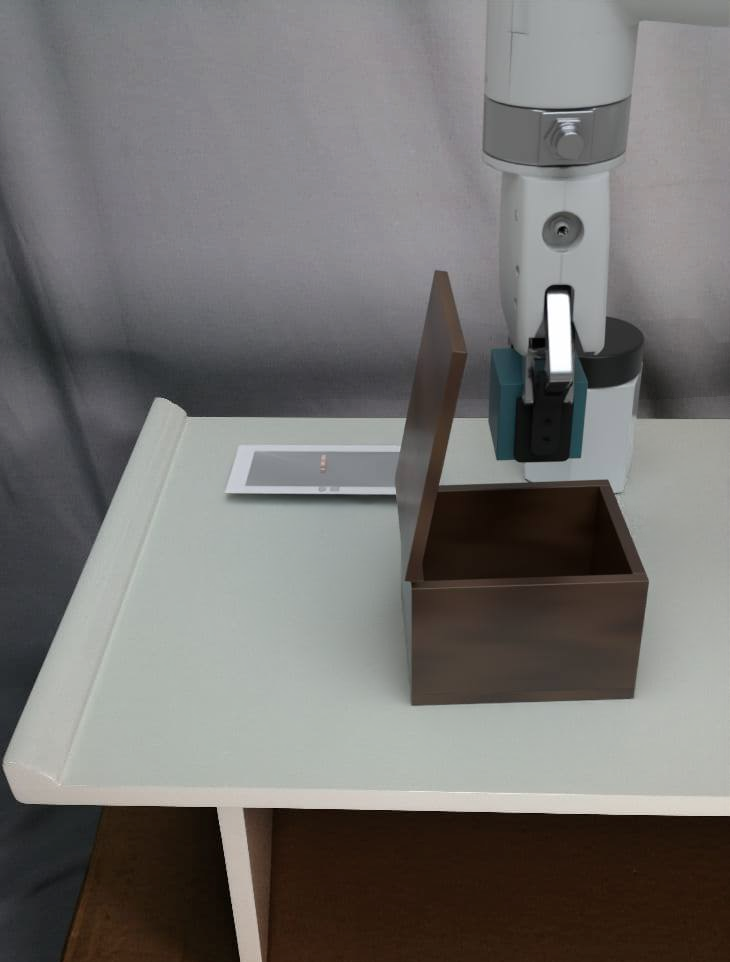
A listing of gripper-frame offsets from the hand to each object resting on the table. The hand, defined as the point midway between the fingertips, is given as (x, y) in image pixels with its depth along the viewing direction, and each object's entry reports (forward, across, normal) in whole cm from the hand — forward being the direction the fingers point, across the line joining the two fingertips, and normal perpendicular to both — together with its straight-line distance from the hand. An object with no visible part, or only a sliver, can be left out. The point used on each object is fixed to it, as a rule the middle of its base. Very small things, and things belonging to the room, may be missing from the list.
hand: (534, 433), depth 71 cm
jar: (+14, +19, -7) cm, 25 cm away
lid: (-2, -3, +6) cm, 7 cm away
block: (0, 0, 0) cm, 0 cm away
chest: (+14, -3, +1) cm, 14 cm away
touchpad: (+14, +19, +14) cm, 27 cm away
